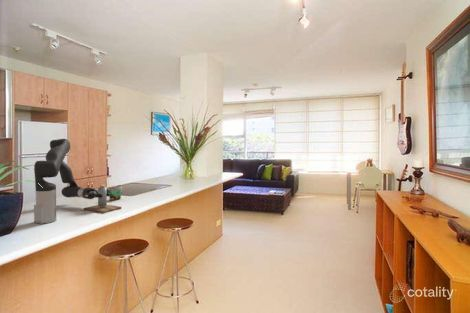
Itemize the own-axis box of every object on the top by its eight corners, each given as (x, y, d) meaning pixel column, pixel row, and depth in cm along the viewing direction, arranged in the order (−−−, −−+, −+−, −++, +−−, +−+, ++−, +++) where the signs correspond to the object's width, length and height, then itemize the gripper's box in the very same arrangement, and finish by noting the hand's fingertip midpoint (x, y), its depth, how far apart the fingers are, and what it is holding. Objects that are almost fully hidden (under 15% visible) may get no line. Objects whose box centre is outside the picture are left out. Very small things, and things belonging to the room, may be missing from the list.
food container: (115, 201, 205) (115, 187, 204) (108, 200, 206) (108, 187, 205) (125, 198, 217) (125, 185, 216) (118, 197, 218) (118, 185, 217)
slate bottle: (101, 206, 177) (101, 185, 176) (96, 206, 179) (96, 185, 178) (108, 205, 181) (108, 184, 181) (102, 204, 183) (102, 184, 183)
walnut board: (103, 213, 170) (103, 211, 170) (83, 210, 177) (83, 208, 177) (121, 208, 183) (121, 206, 183) (101, 205, 190) (101, 203, 190)
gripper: (77, 188, 179) (95, 191, 172) (96, 185, 192) (114, 188, 185) (77, 200, 179) (95, 203, 172) (96, 196, 192) (114, 199, 185)
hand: (105, 195), depth 179 cm, fingers closed on slate bottle, 5 cm apart
